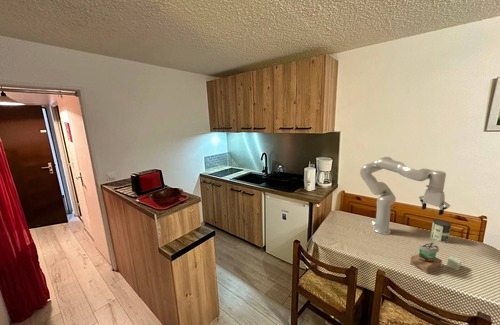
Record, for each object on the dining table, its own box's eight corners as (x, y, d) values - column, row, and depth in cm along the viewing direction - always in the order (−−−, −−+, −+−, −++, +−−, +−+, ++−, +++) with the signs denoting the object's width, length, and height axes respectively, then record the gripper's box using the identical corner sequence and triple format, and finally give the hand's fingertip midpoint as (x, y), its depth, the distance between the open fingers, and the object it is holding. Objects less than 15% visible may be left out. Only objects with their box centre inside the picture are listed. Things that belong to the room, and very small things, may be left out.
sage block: (446, 265, 123) (448, 259, 122) (448, 262, 126) (450, 255, 125) (458, 270, 119) (459, 263, 118) (459, 267, 122) (461, 260, 121)
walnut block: (410, 263, 126) (411, 257, 125) (424, 258, 131) (425, 251, 130) (426, 273, 118) (427, 266, 117) (440, 267, 122) (441, 260, 121)
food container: (428, 265, 117) (430, 251, 115) (417, 259, 123) (419, 245, 121) (441, 260, 121) (444, 246, 119) (430, 254, 127) (432, 241, 125)
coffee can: (446, 237, 152) (449, 221, 149) (449, 244, 144) (452, 227, 141) (429, 233, 158) (431, 217, 155) (430, 239, 150) (433, 223, 147)
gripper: (417, 185, 139) (414, 207, 142) (448, 193, 123) (444, 218, 126) (424, 184, 141) (421, 206, 145) (455, 192, 125) (451, 216, 129)
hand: (431, 211), depth 136 cm, fingers open, 9 cm apart
